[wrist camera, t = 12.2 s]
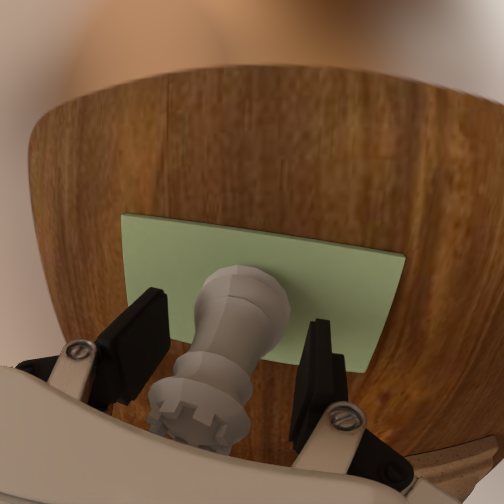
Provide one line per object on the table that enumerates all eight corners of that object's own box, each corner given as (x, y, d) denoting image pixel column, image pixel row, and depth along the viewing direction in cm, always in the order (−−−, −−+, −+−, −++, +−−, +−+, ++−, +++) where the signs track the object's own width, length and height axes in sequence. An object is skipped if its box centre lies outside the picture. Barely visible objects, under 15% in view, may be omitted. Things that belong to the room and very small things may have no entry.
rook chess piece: (194, 262, 14) (93, 371, 6) (288, 259, 13) (257, 397, 5) (210, 338, 15) (147, 458, 8) (293, 340, 14) (271, 481, 7)
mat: (134, 323, 17) (130, 327, 16) (125, 212, 14) (120, 214, 14) (364, 367, 15) (365, 373, 14) (403, 253, 12) (406, 257, 12)
